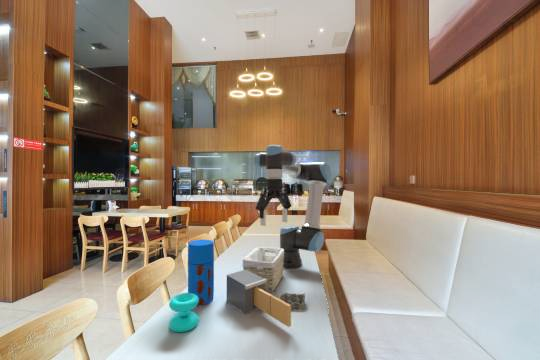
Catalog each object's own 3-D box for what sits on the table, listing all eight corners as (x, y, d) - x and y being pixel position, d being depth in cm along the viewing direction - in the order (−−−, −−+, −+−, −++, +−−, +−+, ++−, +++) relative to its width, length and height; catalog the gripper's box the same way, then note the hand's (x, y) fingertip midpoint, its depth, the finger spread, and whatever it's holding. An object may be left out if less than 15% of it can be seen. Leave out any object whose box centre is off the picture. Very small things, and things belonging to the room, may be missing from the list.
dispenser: (226, 300, 109) (226, 274, 109) (245, 293, 115) (245, 269, 115) (246, 315, 98) (246, 286, 97) (266, 306, 104) (266, 279, 104)
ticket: (250, 302, 103) (250, 285, 103) (253, 301, 104) (253, 284, 104) (288, 327, 86) (288, 306, 86) (291, 325, 87) (291, 305, 87)
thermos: (191, 294, 115) (191, 239, 115) (215, 293, 116) (215, 239, 116) (185, 306, 104) (185, 246, 104) (211, 305, 105) (211, 245, 105)
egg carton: (278, 308, 104) (278, 298, 104) (281, 299, 111) (281, 290, 111) (304, 310, 101) (304, 300, 101) (305, 301, 109) (305, 292, 109)
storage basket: (273, 294, 115) (273, 262, 115) (240, 289, 120) (240, 258, 120) (285, 275, 138) (285, 248, 138) (257, 272, 143) (257, 245, 143)
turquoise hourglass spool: (170, 293, 94) (198, 290, 97) (170, 320, 94) (198, 316, 97) (167, 306, 85) (198, 302, 87) (167, 336, 85) (198, 331, 87)
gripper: (287, 178, 129) (287, 219, 129) (247, 178, 113) (247, 225, 113) (298, 178, 123) (298, 221, 124) (258, 178, 107) (258, 228, 107)
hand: (274, 223), depth 118 cm, fingers open, 13 cm apart
